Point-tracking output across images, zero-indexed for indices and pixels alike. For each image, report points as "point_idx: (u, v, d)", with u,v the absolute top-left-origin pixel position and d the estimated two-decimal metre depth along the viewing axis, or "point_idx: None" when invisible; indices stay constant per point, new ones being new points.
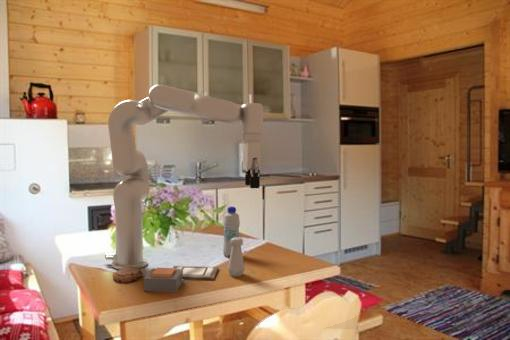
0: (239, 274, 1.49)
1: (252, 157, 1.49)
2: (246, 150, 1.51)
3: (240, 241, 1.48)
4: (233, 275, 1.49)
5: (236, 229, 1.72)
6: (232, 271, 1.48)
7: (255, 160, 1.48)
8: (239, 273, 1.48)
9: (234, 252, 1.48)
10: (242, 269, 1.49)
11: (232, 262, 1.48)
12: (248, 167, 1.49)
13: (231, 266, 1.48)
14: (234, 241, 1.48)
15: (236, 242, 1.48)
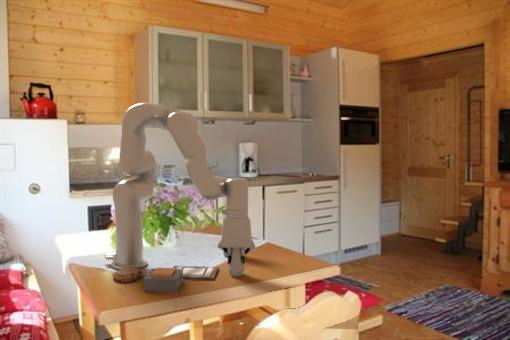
0: (239, 274, 1.49)
1: None
2: (245, 227, 1.46)
3: None
4: (233, 275, 1.49)
5: None
6: (232, 271, 1.48)
7: (251, 239, 1.49)
8: (239, 273, 1.48)
9: (234, 252, 1.48)
10: (242, 269, 1.49)
11: (232, 262, 1.48)
12: (250, 244, 1.47)
13: (231, 266, 1.48)
14: None
15: None
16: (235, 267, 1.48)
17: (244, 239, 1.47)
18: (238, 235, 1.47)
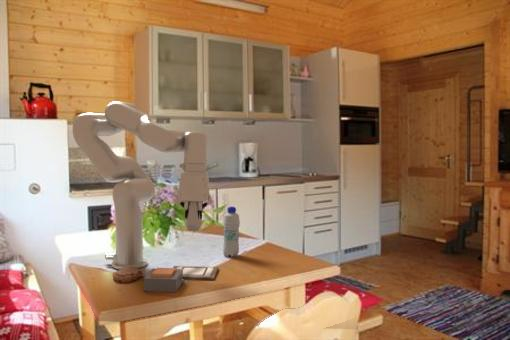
0: (196, 228, 1.48)
1: (208, 187, 1.48)
2: (202, 181, 1.46)
3: None
4: (190, 229, 1.48)
5: (236, 229, 1.72)
6: (189, 225, 1.47)
7: (209, 194, 1.49)
8: (196, 227, 1.48)
9: (191, 206, 1.48)
10: (199, 223, 1.48)
11: (189, 216, 1.48)
12: (207, 198, 1.47)
13: (187, 220, 1.48)
14: None
15: None
16: (192, 221, 1.47)
17: (201, 193, 1.46)
18: (195, 189, 1.46)
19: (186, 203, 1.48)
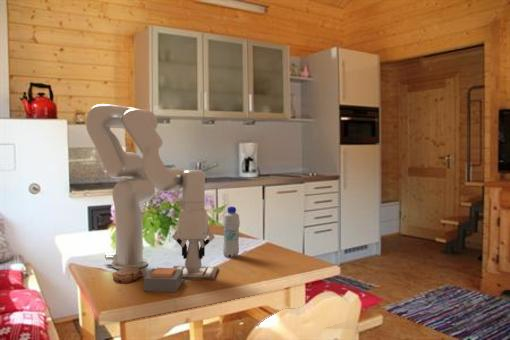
0: (195, 270, 1.49)
1: (207, 225, 1.49)
2: (201, 219, 1.47)
3: None
4: (189, 271, 1.49)
5: (236, 229, 1.72)
6: (188, 267, 1.48)
7: (209, 230, 1.50)
8: (195, 269, 1.49)
9: (191, 248, 1.48)
10: (198, 265, 1.49)
11: (188, 258, 1.48)
12: (206, 236, 1.48)
13: (187, 262, 1.48)
14: None
15: None
16: (191, 263, 1.48)
17: (200, 231, 1.47)
18: (194, 227, 1.47)
19: (183, 241, 1.49)
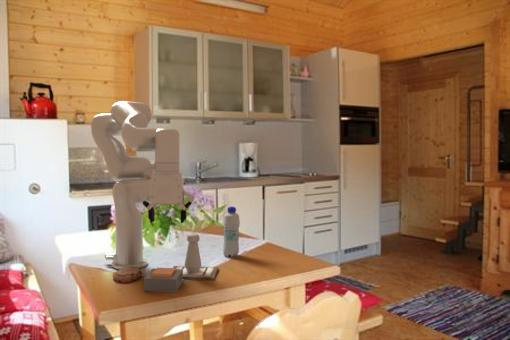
0: (195, 270, 1.49)
1: (182, 189, 1.36)
2: (175, 182, 1.34)
3: (196, 237, 1.49)
4: (189, 271, 1.49)
5: (236, 229, 1.72)
6: (188, 267, 1.48)
7: (186, 192, 1.37)
8: (195, 269, 1.49)
9: (190, 248, 1.49)
10: (198, 265, 1.49)
11: (188, 258, 1.49)
12: (181, 200, 1.35)
13: (187, 262, 1.49)
14: (190, 237, 1.48)
15: (192, 238, 1.48)
16: (191, 263, 1.48)
17: (174, 195, 1.34)
18: (168, 190, 1.34)
19: (152, 204, 1.36)
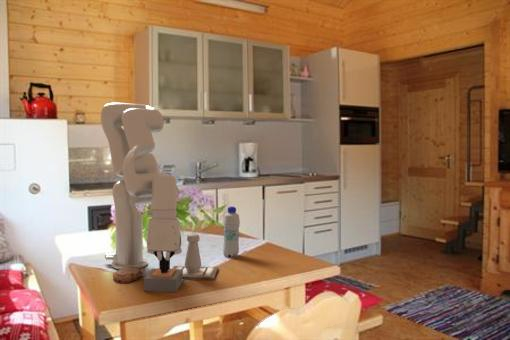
0: (195, 270, 1.49)
1: (179, 235, 1.36)
2: (172, 229, 1.34)
3: (196, 237, 1.49)
4: (189, 271, 1.49)
5: (236, 229, 1.72)
6: (188, 267, 1.48)
7: None
8: (195, 269, 1.49)
9: (190, 248, 1.49)
10: (198, 265, 1.49)
11: (188, 258, 1.49)
12: (178, 247, 1.35)
13: (187, 262, 1.49)
14: (190, 237, 1.48)
15: (192, 238, 1.48)
16: (191, 263, 1.48)
17: (171, 242, 1.34)
18: (164, 237, 1.34)
19: (159, 253, 1.36)
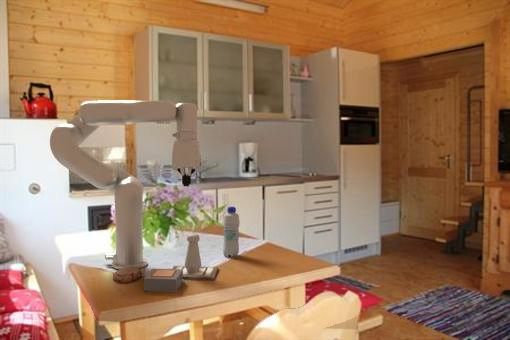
0: (195, 270, 1.49)
1: (199, 154, 1.60)
2: (193, 148, 1.58)
3: (196, 237, 1.49)
4: (189, 271, 1.49)
5: (236, 229, 1.72)
6: (188, 267, 1.48)
7: None
8: (195, 269, 1.49)
9: (190, 248, 1.49)
10: (198, 265, 1.49)
11: (188, 258, 1.49)
12: (198, 164, 1.59)
13: (187, 262, 1.49)
14: (190, 237, 1.48)
15: (192, 238, 1.48)
16: (191, 263, 1.48)
17: (192, 159, 1.58)
18: (187, 155, 1.58)
19: (182, 169, 1.60)
